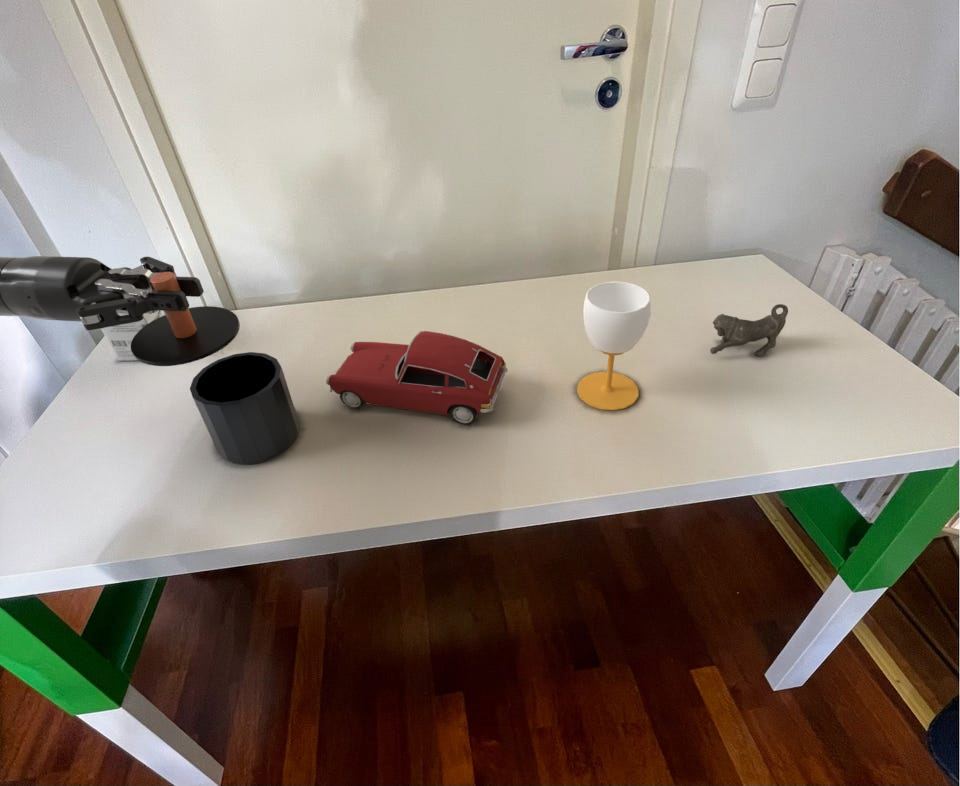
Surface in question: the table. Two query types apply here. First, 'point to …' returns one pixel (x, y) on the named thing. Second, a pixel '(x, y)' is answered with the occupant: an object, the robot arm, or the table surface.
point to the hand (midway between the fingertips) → (192, 293)
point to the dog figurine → (749, 330)
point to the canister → (246, 407)
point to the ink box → (126, 335)
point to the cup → (613, 340)
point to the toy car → (422, 376)
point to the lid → (183, 331)
